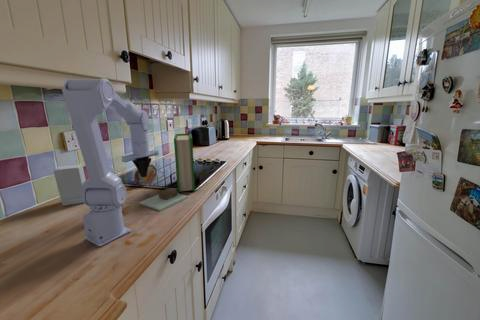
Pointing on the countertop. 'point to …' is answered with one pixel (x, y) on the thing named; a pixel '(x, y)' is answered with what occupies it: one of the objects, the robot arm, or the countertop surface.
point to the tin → (145, 180)
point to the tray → (162, 202)
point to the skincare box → (70, 183)
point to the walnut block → (167, 194)
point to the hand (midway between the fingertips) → (143, 176)
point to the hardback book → (184, 162)
